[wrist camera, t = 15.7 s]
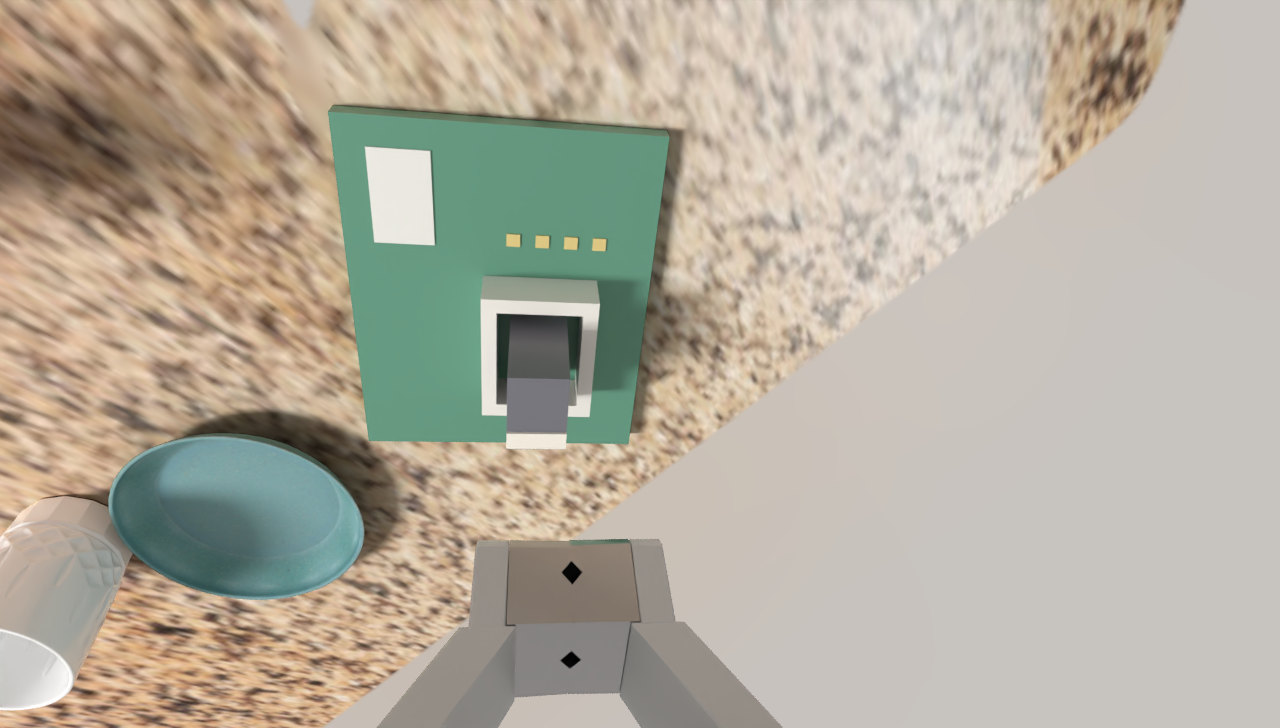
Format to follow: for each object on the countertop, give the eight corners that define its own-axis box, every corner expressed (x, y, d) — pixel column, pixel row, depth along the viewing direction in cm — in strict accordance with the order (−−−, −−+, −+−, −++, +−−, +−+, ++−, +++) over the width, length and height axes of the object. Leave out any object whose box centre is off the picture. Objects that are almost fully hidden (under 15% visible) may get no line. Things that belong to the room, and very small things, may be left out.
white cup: (174, 551, 51) (106, 688, 43) (71, 583, 52) (-15, 724, 44) (91, 473, 47) (-3, 609, 39) (-21, 509, 47) (-137, 651, 39)
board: (332, 105, 36) (315, 129, 33) (666, 130, 38) (676, 155, 35) (371, 430, 47) (361, 469, 44) (626, 433, 49) (632, 470, 47)
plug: (511, 302, 42) (507, 379, 36) (566, 304, 42) (570, 381, 36) (510, 368, 44) (506, 450, 38) (561, 370, 45) (565, 451, 39)
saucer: (101, 400, 44) (79, 430, 42) (367, 415, 47) (359, 443, 45) (151, 568, 52) (134, 600, 50) (374, 572, 55) (368, 602, 53)
